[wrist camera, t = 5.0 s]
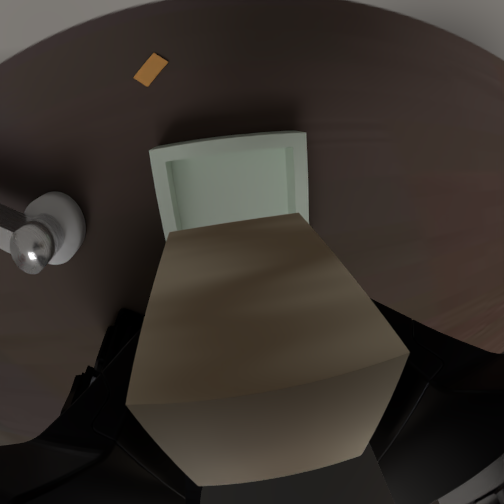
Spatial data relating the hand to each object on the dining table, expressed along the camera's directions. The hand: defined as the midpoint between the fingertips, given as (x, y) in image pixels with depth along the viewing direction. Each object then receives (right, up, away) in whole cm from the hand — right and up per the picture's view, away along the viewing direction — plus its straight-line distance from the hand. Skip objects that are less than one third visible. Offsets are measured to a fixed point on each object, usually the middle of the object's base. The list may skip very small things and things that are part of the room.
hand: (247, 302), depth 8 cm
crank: (-18, +4, +6) cm, 19 cm away
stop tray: (-1, +5, +10) cm, 11 cm away
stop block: (0, +1, +1) cm, 1 cm away
